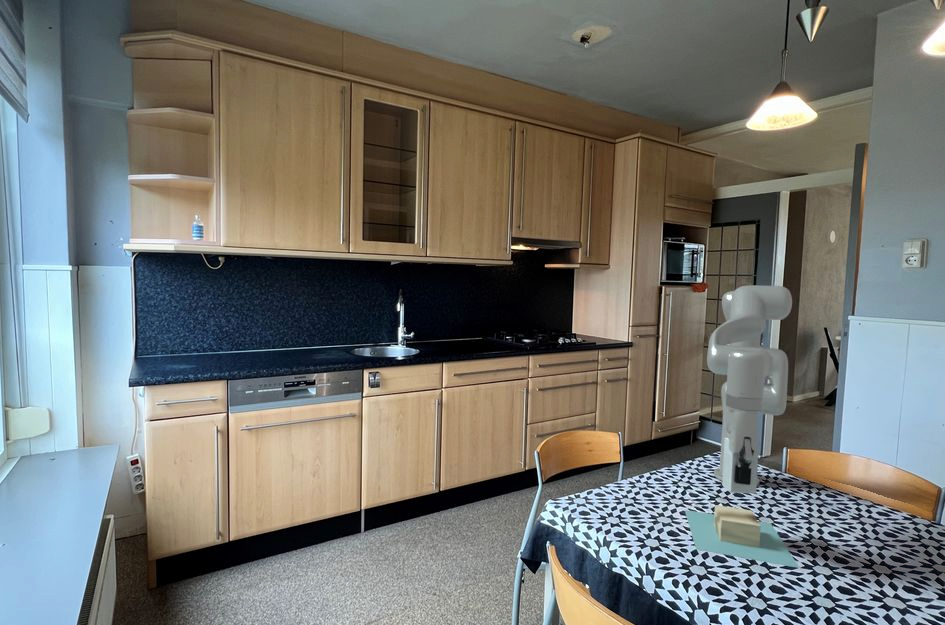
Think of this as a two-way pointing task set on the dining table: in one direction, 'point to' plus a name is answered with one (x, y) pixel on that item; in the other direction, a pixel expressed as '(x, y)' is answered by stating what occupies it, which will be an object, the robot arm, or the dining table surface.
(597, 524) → the dining table surface
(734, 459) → the skincare box
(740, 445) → the robot arm
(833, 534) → the dining table surface
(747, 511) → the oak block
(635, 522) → the dining table surface
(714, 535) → the base board
